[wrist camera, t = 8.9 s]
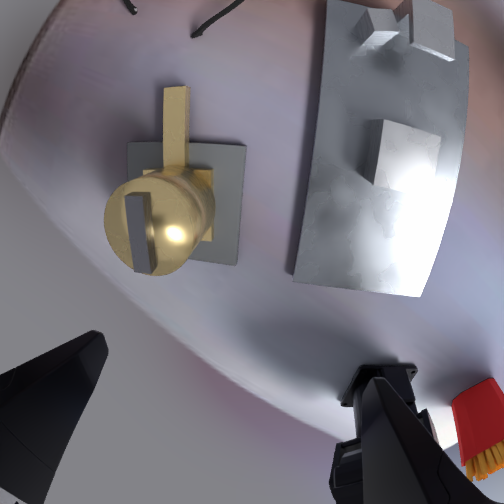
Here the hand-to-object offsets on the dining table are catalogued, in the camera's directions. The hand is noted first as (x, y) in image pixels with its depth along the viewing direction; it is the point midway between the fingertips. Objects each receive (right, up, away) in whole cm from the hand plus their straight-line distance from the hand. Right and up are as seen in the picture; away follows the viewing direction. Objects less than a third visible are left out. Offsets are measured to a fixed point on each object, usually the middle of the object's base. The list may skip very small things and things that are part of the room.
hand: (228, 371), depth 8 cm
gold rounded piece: (-4, +9, +9) cm, 13 cm away
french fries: (+30, -15, +16) cm, 37 cm away
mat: (-4, +7, +10) cm, 13 cm away
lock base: (+9, +10, +7) cm, 15 cm away
